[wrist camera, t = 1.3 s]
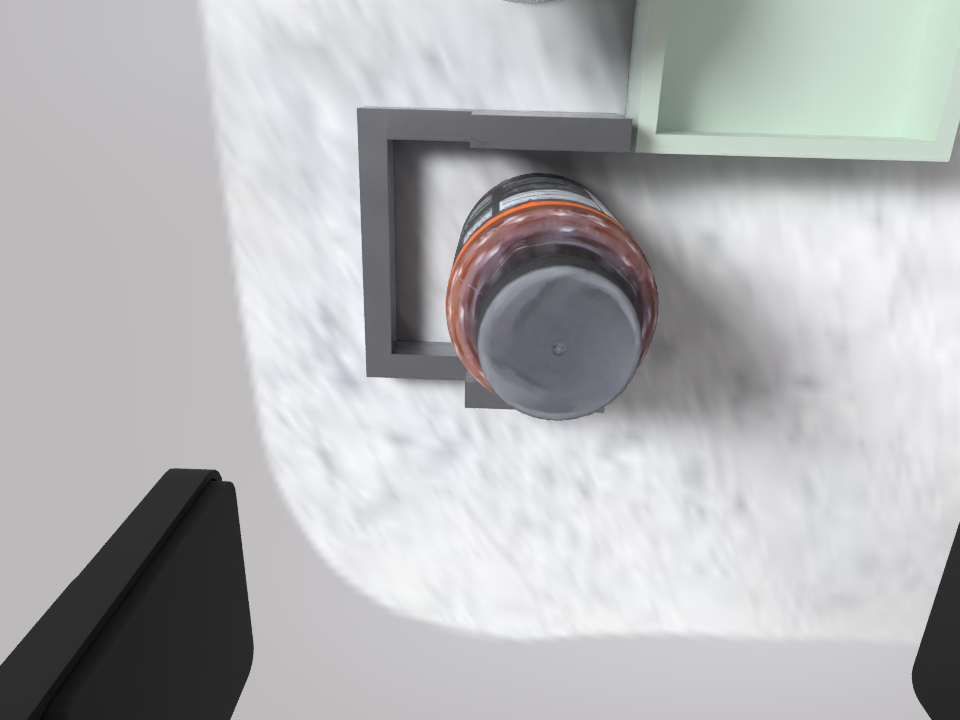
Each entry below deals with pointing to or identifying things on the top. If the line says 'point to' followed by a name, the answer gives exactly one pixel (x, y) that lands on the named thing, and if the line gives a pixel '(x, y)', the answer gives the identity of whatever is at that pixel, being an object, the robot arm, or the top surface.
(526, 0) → the pulley
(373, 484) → the top surface
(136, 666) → the robot arm
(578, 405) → the supplement bottle
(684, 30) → the tray
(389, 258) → the bracket
